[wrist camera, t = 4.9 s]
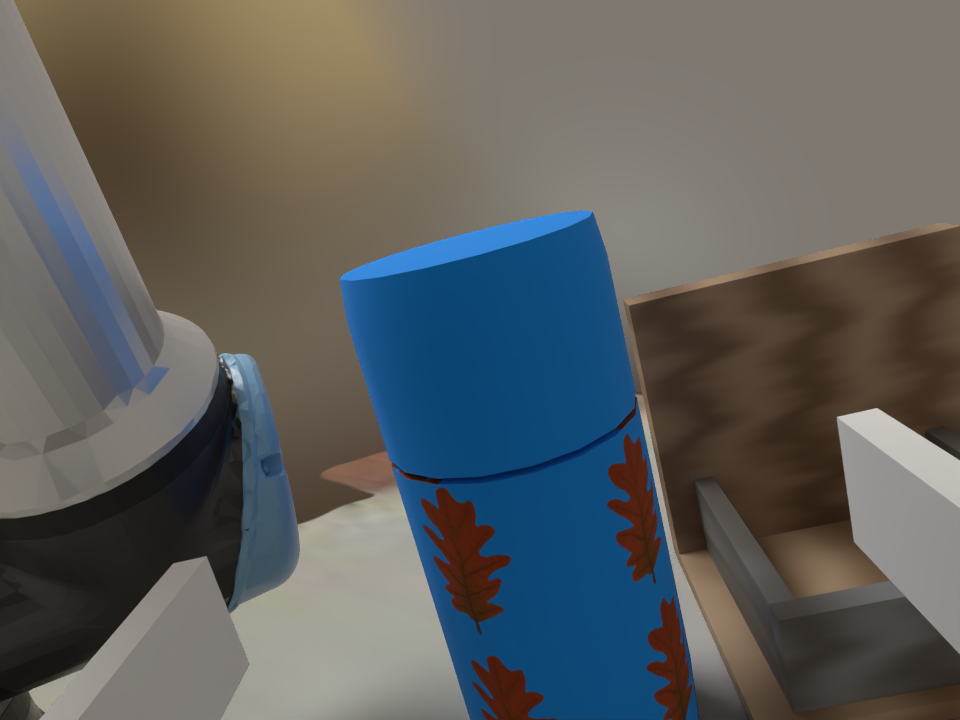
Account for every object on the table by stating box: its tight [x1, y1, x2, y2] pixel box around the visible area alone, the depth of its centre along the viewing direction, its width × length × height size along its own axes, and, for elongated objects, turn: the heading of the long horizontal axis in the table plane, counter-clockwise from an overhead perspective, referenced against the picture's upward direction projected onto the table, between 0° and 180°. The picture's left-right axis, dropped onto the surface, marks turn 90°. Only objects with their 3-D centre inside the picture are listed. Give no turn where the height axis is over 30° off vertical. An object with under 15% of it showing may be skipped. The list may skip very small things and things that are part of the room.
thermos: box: [340, 211, 699, 720], centre depth 31 cm, size 11×11×25 cm
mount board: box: [623, 223, 960, 720], centre depth 36 cm, size 19×17×18 cm
